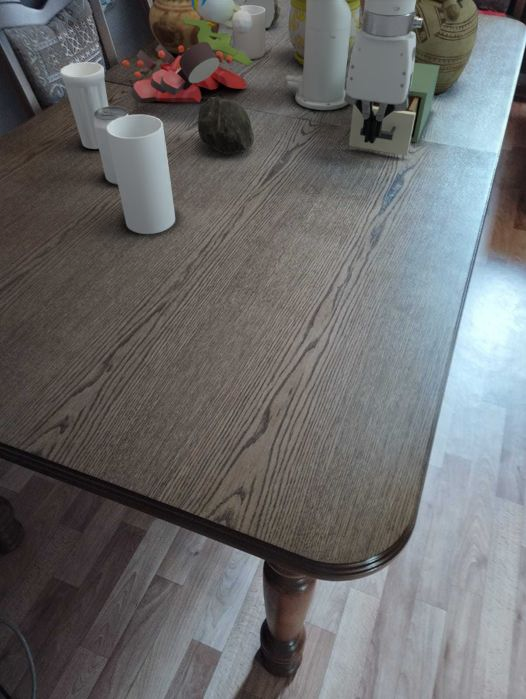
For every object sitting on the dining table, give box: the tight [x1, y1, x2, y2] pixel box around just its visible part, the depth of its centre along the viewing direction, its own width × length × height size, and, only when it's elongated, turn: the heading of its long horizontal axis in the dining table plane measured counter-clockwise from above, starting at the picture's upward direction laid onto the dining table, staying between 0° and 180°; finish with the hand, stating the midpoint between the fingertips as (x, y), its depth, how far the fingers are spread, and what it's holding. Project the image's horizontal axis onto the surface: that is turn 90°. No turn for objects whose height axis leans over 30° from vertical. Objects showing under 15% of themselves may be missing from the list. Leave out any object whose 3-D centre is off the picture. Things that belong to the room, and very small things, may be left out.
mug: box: [232, 5, 266, 60], centre depth 146 cm, size 9×12×11 cm
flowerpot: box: [288, 0, 361, 66], centre depth 140 cm, size 18×18×16 cm
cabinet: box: [408, 63, 440, 143], centre depth 115 cm, size 16×13×10 cm
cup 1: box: [59, 61, 109, 150], centre depth 107 cm, size 8×8×14 cm
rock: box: [197, 96, 255, 155], centre depth 108 cm, size 10×11×10 cm
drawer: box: [348, 95, 421, 157], centre depth 108 cm, size 19×12×8 cm, turn 159°
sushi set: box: [121, 0, 254, 104], centre depth 124 cm, size 29×30×24 cm
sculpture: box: [241, 0, 281, 30], centre depth 168 cm, size 11×18×12 cm
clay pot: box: [148, 0, 221, 56], centre depth 146 cm, size 19×19×20 cm
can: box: [94, 105, 129, 186], centre depth 98 cm, size 6×6×12 cm
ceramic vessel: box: [411, 0, 479, 95], centre depth 123 cm, size 19×21×30 cm
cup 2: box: [107, 114, 176, 235], centre depth 86 cm, size 8×8×16 cm
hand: (370, 139), depth 97 cm, fingers closed
